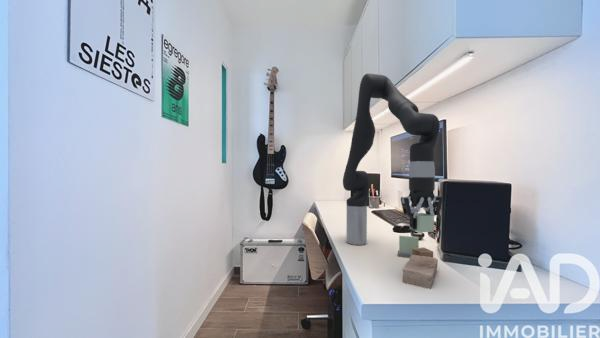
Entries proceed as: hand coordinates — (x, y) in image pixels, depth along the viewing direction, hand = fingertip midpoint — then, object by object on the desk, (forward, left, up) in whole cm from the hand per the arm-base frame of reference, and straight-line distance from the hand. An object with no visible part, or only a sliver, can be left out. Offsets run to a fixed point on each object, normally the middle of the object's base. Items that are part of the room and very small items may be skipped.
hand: (421, 228), depth 85 cm
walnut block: (-10, +8, -15) cm, 20 cm away
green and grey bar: (-18, +8, -15) cm, 25 cm away
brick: (0, 0, -16) cm, 16 cm away
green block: (0, 0, 0) cm, 0 cm away
